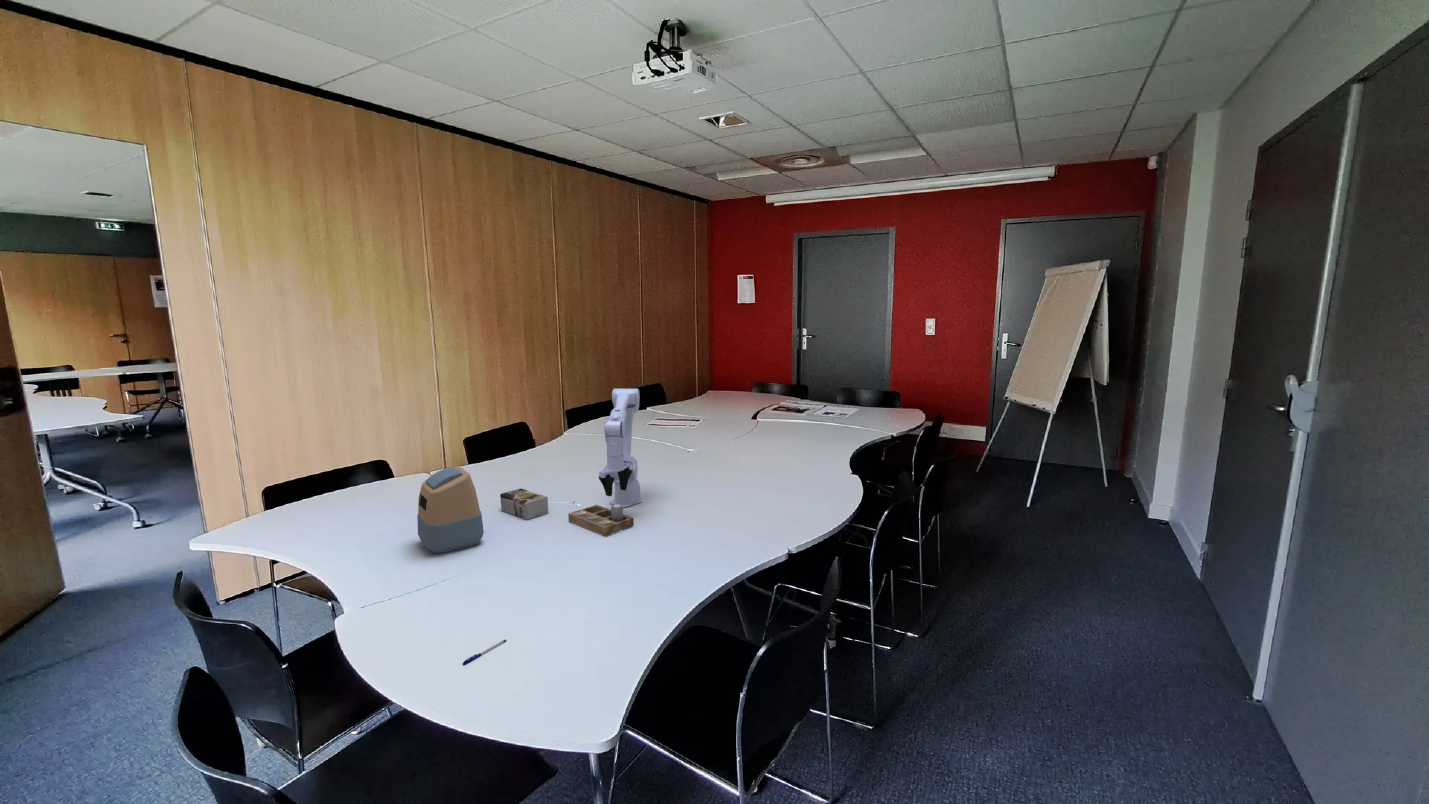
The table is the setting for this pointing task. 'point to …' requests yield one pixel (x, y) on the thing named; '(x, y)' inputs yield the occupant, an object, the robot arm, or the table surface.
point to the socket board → (599, 520)
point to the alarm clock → (449, 511)
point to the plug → (616, 513)
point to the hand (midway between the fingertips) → (616, 492)
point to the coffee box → (524, 503)
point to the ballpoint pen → (482, 653)
